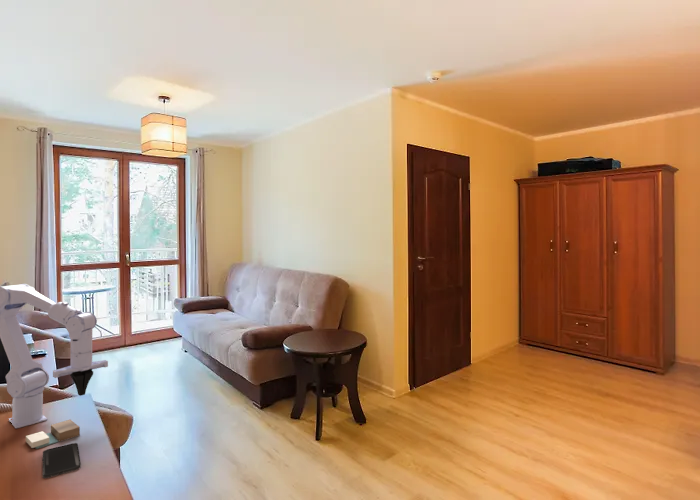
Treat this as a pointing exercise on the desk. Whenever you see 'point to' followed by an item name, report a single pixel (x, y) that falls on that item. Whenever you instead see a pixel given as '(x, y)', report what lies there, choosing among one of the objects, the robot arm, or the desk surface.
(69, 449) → the phone
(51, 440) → the mat
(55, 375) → the robot arm
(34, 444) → the cream rectangular block
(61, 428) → the block
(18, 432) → the desk surface
